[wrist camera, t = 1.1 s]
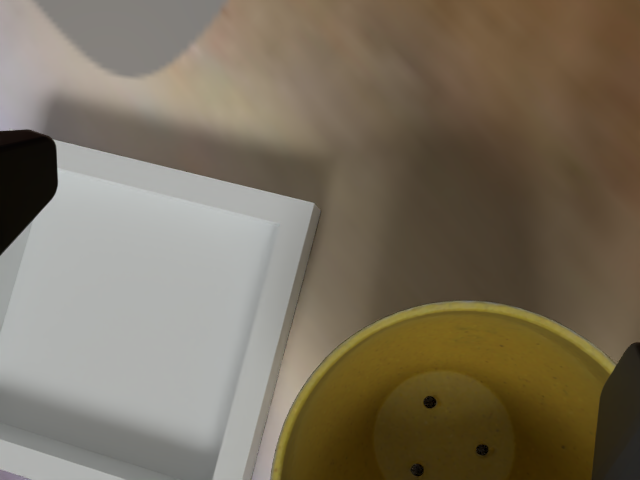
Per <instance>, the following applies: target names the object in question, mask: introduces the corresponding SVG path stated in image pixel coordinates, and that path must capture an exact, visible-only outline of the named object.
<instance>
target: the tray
mask: <svg viewBox="0 0 640 480" xmlns="http://www.w3.org/2000/svg"><path fill="white" fill-rule="evenodd" d="M11 130H13V129H9V131H11ZM53 140H54V139H53ZM54 142H55V144H56V149H57V170H58V187H57V191H56V194H55V195H54V197H53V199H52V200H51V201H50V202H49V203H48V204H47V205H46V206H45V208H44V209H43V210H42V211H41V212H40V213H39V214H38V215H37V216H36V217H35V219H34V220H33V221H32V222H31V223H30V224H29V225H28V226H27V227H26V228H25V229H24V231H23V232H22V233H21V234H20V235H19V236H18V237H17V238H16V239H15V240H14V242H13V243H12V244H11V245H10V246H9V247H8V248H7V249H6V250H5V251H4V253H3V254H2V255H1V256H0V469H1V470H4V471H7V472H10V473H13V474H16V475H19V476H22V477H26V478H29V479H32V480H251V477H252V474H253V470H254V466H255V462H256V458H257V454H258V451H259V447H260V443H261V439H262V435H263V432H264V428H265V424H266V420H267V416H268V412H269V409H270V405H271V401H272V397H273V393H274V389H275V386H276V382H277V378H278V374H279V370H280V366H281V363H282V359H283V355H284V351H285V347H286V344H287V340H288V336H289V332H290V328H291V324H292V321H293V317H294V313H295V309H296V305H297V301H298V298H299V294H300V290H301V286H302V282H303V278H304V275H305V271H306V267H307V263H308V259H309V255H310V252H311V248H312V244H313V240H314V236H315V233H316V229H317V225H318V221H319V217H320V213H321V210H320V209H319V208H318V207H317V205H316V204H315V203H312V202H308V201H304V200H300V199H296V198H292V197H288V196H284V195H279V194H275V193H271V192H267V191H263V190H259V189H255V188H251V187H247V186H243V185H238V184H234V183H230V182H226V181H222V180H218V179H214V178H210V177H206V176H201V175H197V174H193V173H189V172H185V171H181V170H177V169H173V168H169V167H165V166H160V165H156V164H152V163H148V162H144V161H140V160H136V159H132V158H128V157H124V156H119V155H115V154H111V153H107V152H103V151H99V150H95V149H91V148H87V147H83V146H78V145H74V144H70V143H66V142H62V141H58V140H54Z"/></svg>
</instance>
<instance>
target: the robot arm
mask: <svg viewBox="0 0 640 480" xmlns="http://www.w3.org/2000/svg"><path fill="white" fill-rule="evenodd" d="M57 187H58V170H57V149H56V144H55V142H54V140H53V139H52V138H51V137H49V136H47V135H44V134H41V133H38V132H35V131H32V130H11V131H0V256H1V255H2V254H3V253H4V251H5V250H6V249H7V248H8V247H9V246H10V245H11V244H12V243H13V242H14V240H15V239H16V238H17V237H18V236H19V235H20V234H21V233H22V232H23V231H24V229H25V228H26V227H27V226H28V225H29V224H30V223H31V222H32V221H33V220H34V219H35V217H36V216H37V215H38V214H39V213H40V212H41V211H42V210H43V209H44V208H45V206H46V205H47V204H48V203H49V202H50V201H51V200H52V199H53V197H54V195H55V194H56V191H57ZM591 480H640V343H639V342H636V343H633V344H631V345H630V346H629V347H628V348H627V350H626V351H625V353H624V354H623V356H622V357H621V359H620V360H619V362H618V364H617V365H616V367H615V368H614V370H613V372H612V373H611V375H610V376H609V378H608V379H607V381H606V383H605V384H604V387H603V389H602V392H601V395H600V400H599V410H598V419H597V429H596V439H595V448H594V458H593V468H592V478H591Z"/></svg>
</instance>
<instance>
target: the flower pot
mask: <svg viewBox="0 0 640 480" xmlns="http://www.w3.org/2000/svg"><path fill="white" fill-rule="evenodd" d="M615 367H616V364H615V363H614V362H613V361H612V360H611V359H610V358H609V357H608V356H607V355H606V354H605V353H603V352H602V351H601V350H600V349H598V348H597V347H596V346H595V345H594V344H592V343H591V342H589V341H588V340H587V339H585V338H584V337H582V336H580V335H579V334H577V333H576V332H574V331H573V330H571V329H569V328H567V327H565V326H563V325H562V324H560V323H558V322H556V321H554V320H551V319H549V318H547V317H544V316H542V315H539V314H536V313H534V312H531V311H528V310H525V309H522V308H518V307H514V306H511V305H506V304H501V303H495V302H487V301H472V300H455V301H444V302H436V303H429V304H424V305H420V306H416V307H413V308H409V309H406V310H403V311H399V312H397V313H394V314H392V315H389V316H387V317H384V318H382V319H380V320H378V321H376V322H374V323H372V324H370V325H368V326H366V327H365V328H363V329H362V330H360V331H358V332H357V333H355V334H354V335H352V336H351V337H350V338H348V339H347V340H345V341H344V342H343V343H342V344H340V345H339V346H338V347H337V348H336V349H335V350H334V351H332V352H331V353H330V354H329V355H328V356H327V357H326V358H325V359H324V360H323V362H322V363H321V364H320V365H319V366H318V367H317V369H316V370H315V371H314V372H313V373H312V375H311V376H310V377H309V379H308V380H307V381H306V383H305V384H304V386H303V387H302V389H301V390H300V392H299V394H298V395H297V397H296V399H295V401H294V402H293V404H292V406H291V408H290V410H289V413H288V415H287V417H286V419H285V422H284V424H283V427H282V430H281V433H280V436H279V439H278V443H277V446H276V450H275V454H274V459H273V464H272V470H271V480H591V478H592V468H593V458H594V448H595V439H596V429H597V419H598V410H599V400H600V395H601V392H602V389H603V387H604V384H605V383H606V381H607V379H608V378H609V376H610V375H611V373H612V372H613V370H614V368H615ZM427 396H432V397H434V399H435V400H436V405H435V406H434V407H433V408H427V407H426V406H425V405H424V399H425V398H426V397H427ZM481 444H482V445H487V447H488V452H487V454H486V455H480V454H478V453H477V451H476V448H477V446H478V445H481ZM415 464H420V465H422V467H423V469H424V472H423V474H422V475H421V476H415V475H413V474H412V472H411V468H412V466H413V465H415Z"/></svg>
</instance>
